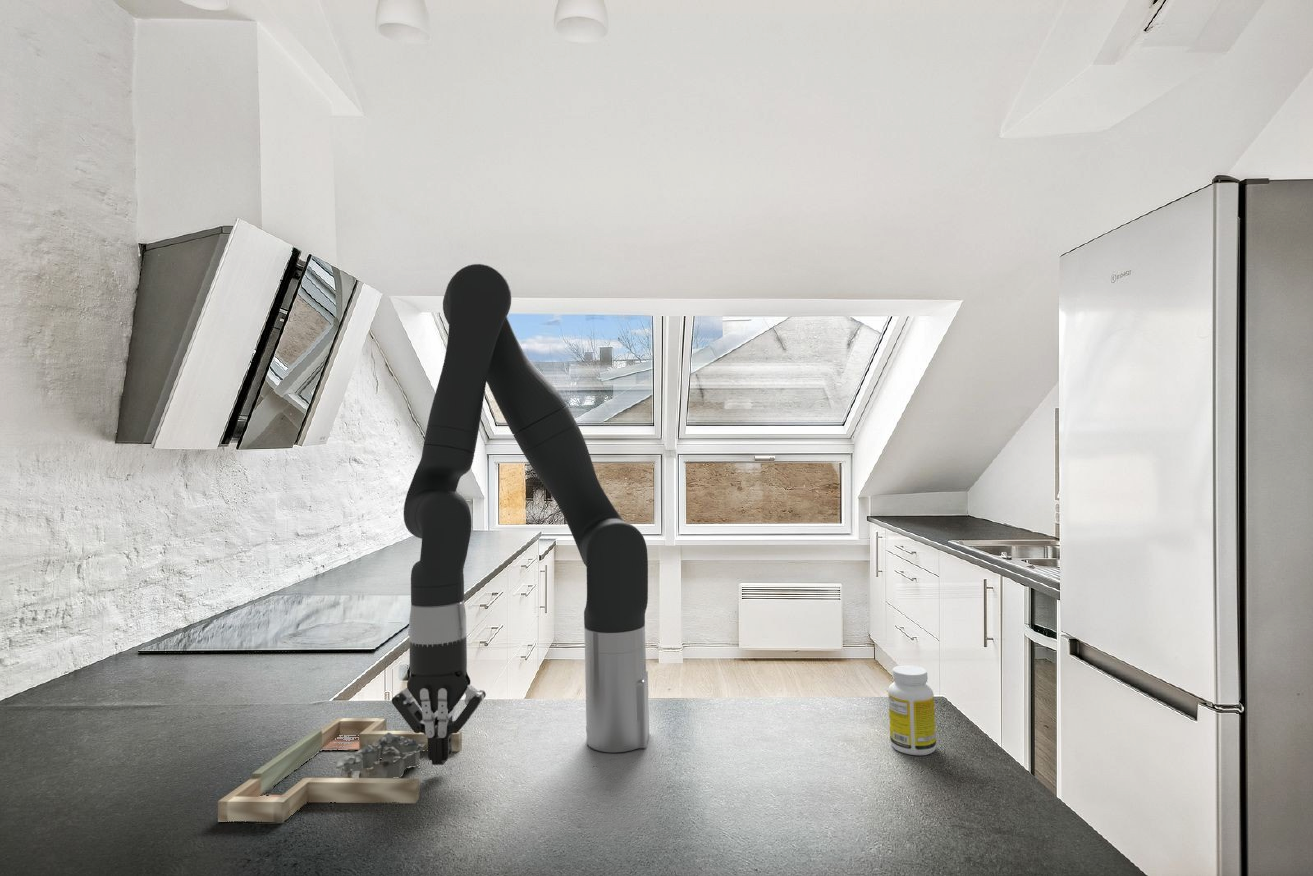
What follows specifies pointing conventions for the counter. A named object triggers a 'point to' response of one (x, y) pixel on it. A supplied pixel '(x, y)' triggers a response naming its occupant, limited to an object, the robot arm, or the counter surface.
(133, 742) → the counter surface
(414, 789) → the box
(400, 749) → the egg carton
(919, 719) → the pill bottle
